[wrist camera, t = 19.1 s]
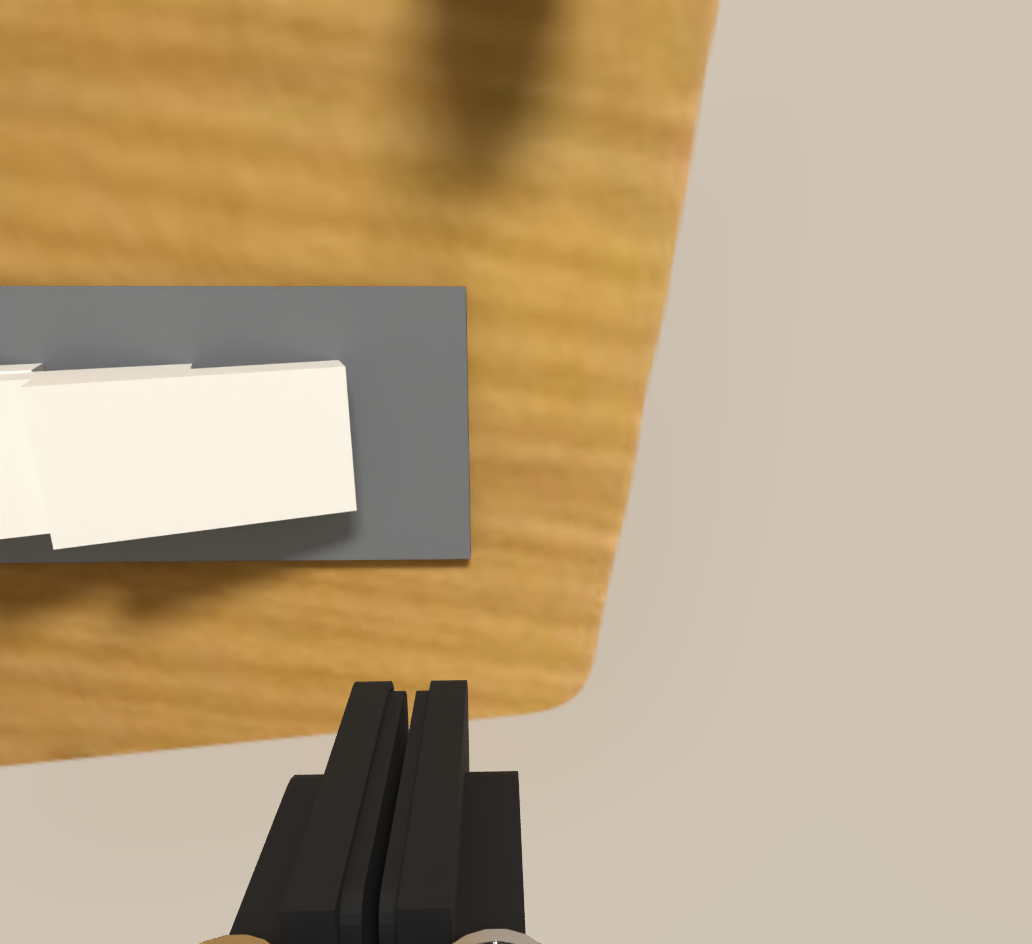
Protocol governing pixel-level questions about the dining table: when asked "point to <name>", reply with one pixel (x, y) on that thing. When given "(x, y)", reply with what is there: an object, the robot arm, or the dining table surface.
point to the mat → (273, 340)
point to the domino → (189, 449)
